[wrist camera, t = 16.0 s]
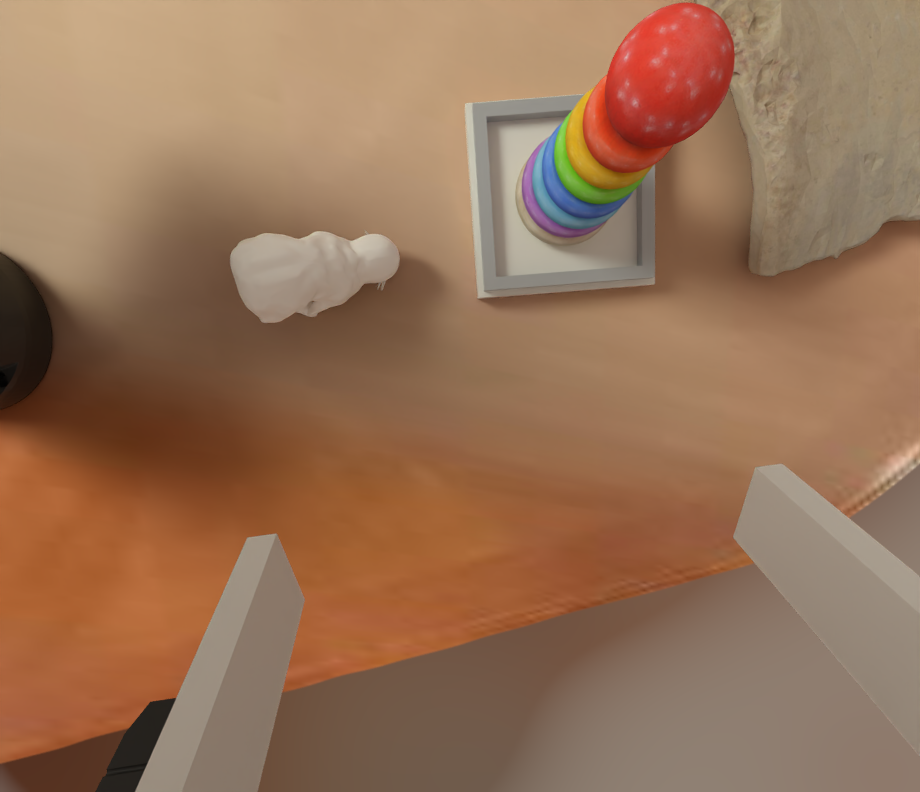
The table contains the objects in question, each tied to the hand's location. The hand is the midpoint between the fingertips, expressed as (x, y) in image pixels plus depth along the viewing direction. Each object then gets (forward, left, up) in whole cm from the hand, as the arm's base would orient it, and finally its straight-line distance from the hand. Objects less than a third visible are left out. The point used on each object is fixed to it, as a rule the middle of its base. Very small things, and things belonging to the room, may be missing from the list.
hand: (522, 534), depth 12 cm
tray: (+8, +15, -27) cm, 32 cm away
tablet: (+30, +21, -28) cm, 46 cm away
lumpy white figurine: (-11, +11, -27) cm, 32 cm away
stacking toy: (+8, +15, -26) cm, 31 cm away
